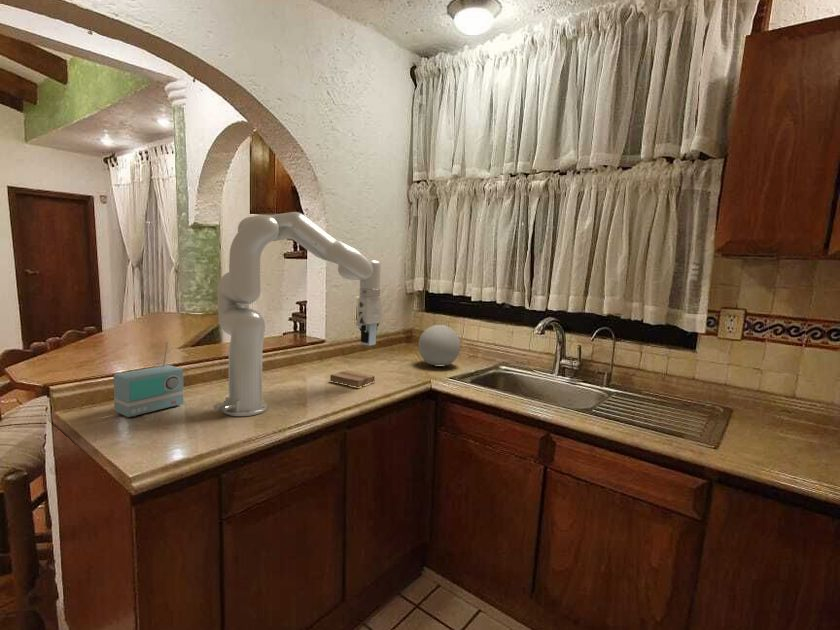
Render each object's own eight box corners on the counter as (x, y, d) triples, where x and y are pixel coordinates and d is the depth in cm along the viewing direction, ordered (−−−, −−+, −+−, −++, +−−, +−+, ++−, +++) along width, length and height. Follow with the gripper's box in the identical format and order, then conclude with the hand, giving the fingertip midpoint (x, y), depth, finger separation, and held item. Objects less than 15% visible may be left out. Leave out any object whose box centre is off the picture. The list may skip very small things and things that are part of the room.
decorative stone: (410, 363, 207) (412, 322, 205) (445, 360, 217) (447, 321, 215) (430, 372, 190) (432, 328, 188) (467, 369, 199) (469, 327, 197)
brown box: (358, 388, 160) (358, 381, 159) (330, 382, 167) (330, 374, 166) (374, 383, 168) (374, 376, 168) (347, 377, 175) (347, 370, 175)
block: (369, 345, 158) (369, 323, 157) (360, 344, 160) (361, 322, 159) (375, 344, 162) (376, 322, 161) (367, 343, 164) (368, 321, 163)
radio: (129, 421, 118) (127, 350, 116) (114, 414, 123) (112, 346, 121) (186, 406, 132) (185, 343, 130) (170, 401, 137) (169, 339, 134)
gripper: (363, 294, 150) (362, 346, 152) (390, 293, 164) (389, 339, 166) (347, 293, 153) (346, 343, 156) (375, 292, 168) (373, 337, 170)
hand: (368, 341), depth 161 cm, fingers closed on block, 4 cm apart
